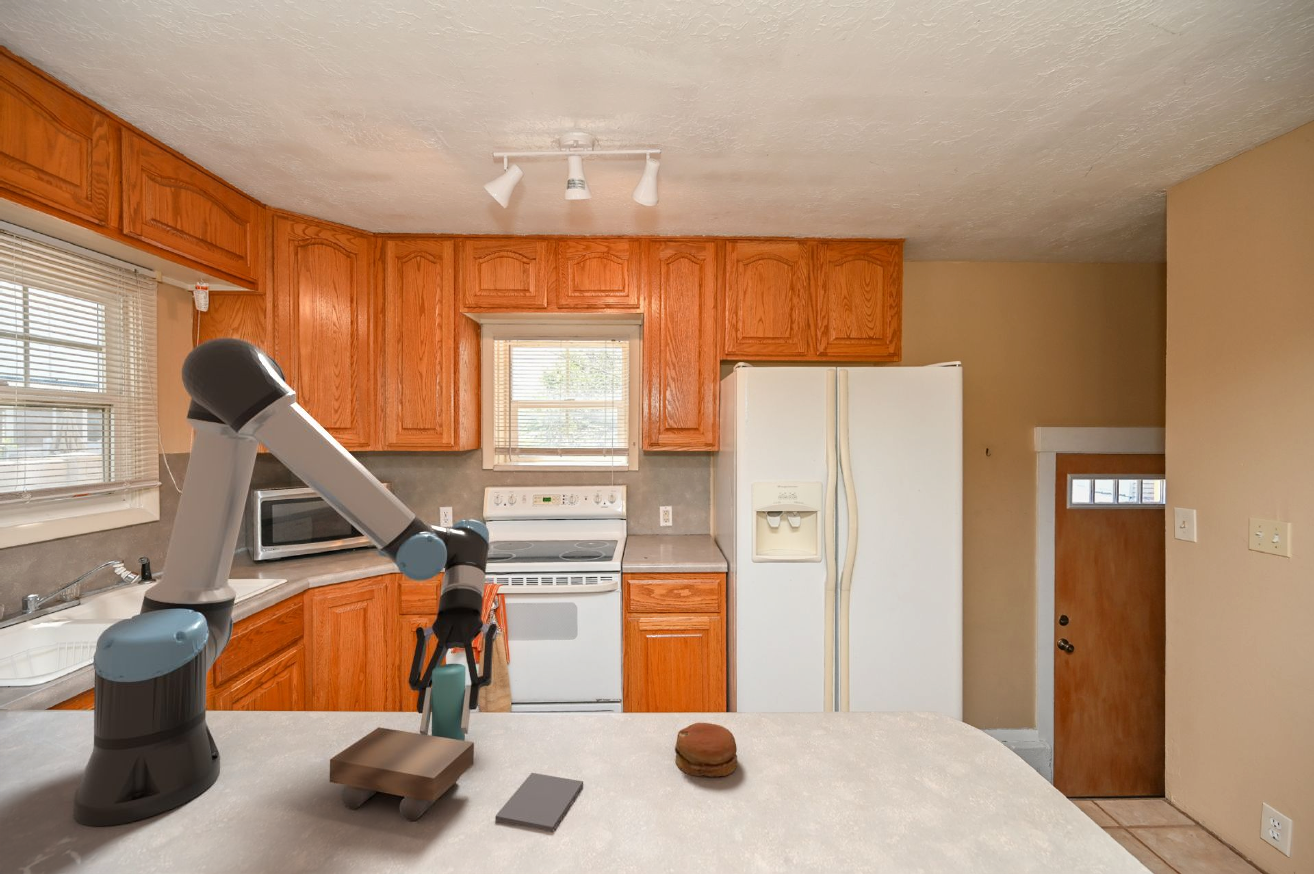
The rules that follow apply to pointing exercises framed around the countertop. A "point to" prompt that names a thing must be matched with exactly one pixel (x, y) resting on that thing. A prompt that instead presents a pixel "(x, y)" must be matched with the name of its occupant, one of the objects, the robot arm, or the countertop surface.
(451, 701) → the roller
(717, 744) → the burger
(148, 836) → the countertop surface
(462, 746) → the slab
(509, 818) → the pad
